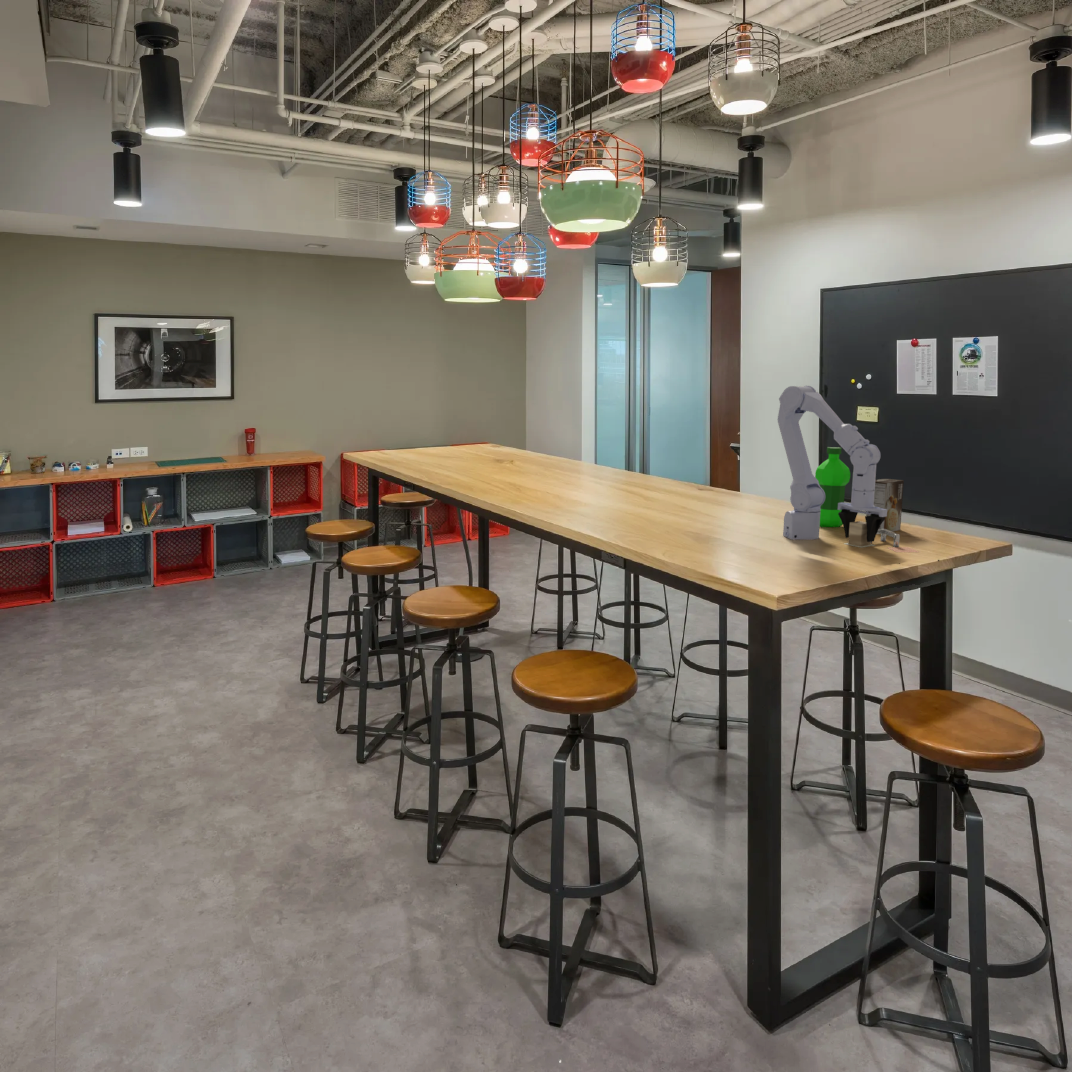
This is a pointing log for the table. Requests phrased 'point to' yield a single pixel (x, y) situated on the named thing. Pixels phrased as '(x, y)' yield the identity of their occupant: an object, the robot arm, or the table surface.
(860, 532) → the birch block
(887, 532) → the bent wire
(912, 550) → the board
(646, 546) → the table surface
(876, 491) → the coffee box
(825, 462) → the plastic bottle
